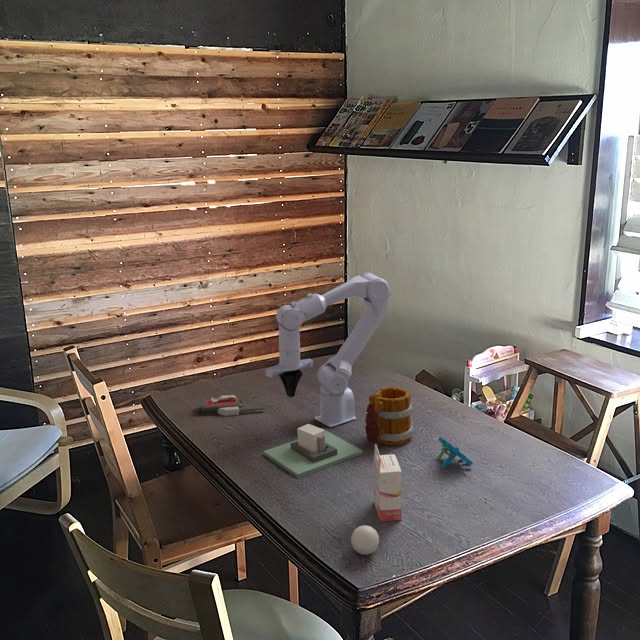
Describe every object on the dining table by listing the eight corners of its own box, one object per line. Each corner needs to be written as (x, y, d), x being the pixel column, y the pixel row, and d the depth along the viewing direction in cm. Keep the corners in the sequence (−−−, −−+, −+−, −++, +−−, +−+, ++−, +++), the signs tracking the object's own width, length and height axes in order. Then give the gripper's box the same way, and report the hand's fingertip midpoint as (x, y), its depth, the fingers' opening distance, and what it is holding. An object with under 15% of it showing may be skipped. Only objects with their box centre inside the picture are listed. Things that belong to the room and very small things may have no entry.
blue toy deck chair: (481, 466, 173) (452, 442, 171) (465, 485, 173) (437, 461, 170) (461, 452, 184) (434, 429, 181) (446, 470, 184) (419, 448, 181)
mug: (421, 436, 194) (421, 384, 190) (383, 457, 183) (383, 402, 179) (389, 425, 202) (389, 375, 197) (351, 445, 190) (350, 392, 186)
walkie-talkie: (197, 419, 211) (266, 414, 213) (196, 405, 210) (265, 400, 212) (198, 408, 219) (264, 403, 222) (197, 394, 218) (263, 389, 220)
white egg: (382, 559, 141) (381, 534, 140) (353, 561, 141) (352, 536, 139) (375, 537, 149) (375, 513, 147) (348, 539, 148) (347, 515, 147)
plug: (303, 442, 191) (302, 421, 189) (328, 452, 184) (327, 431, 183) (292, 447, 188) (291, 426, 186) (317, 458, 182) (316, 436, 180)
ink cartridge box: (402, 521, 154) (402, 458, 150) (379, 522, 154) (379, 460, 150) (395, 500, 163) (395, 440, 159) (373, 502, 162) (372, 442, 158)
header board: (325, 433, 198) (325, 425, 197) (362, 454, 185) (362, 445, 184) (263, 454, 187) (263, 445, 186) (298, 478, 174) (297, 468, 173)
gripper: (302, 341, 204) (303, 386, 207) (259, 350, 195) (260, 397, 199) (317, 346, 198) (318, 393, 202) (273, 357, 190) (274, 405, 194)
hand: (290, 395), depth 200 cm, fingers closed
